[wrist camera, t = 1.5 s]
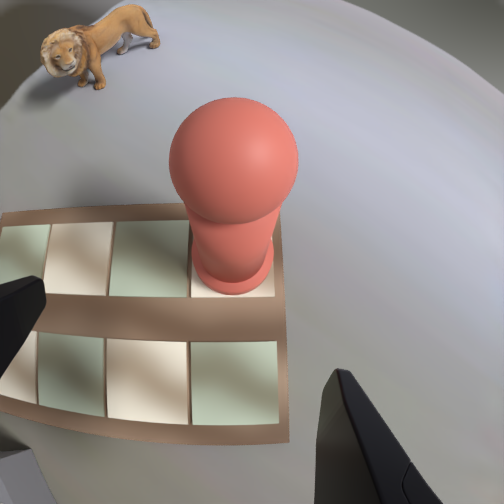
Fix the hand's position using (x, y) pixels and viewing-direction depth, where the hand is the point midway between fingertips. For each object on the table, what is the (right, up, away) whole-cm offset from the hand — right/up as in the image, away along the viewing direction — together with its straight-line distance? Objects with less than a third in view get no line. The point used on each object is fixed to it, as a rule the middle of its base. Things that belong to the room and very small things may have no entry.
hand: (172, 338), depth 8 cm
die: (-16, -16, +7) cm, 23 cm away
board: (-7, -2, +12) cm, 14 cm away
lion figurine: (-13, +22, +20) cm, 32 cm away
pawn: (+1, +2, +12) cm, 13 cm away
